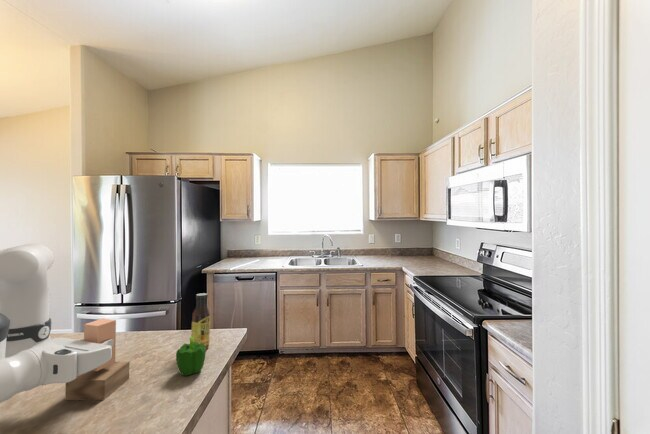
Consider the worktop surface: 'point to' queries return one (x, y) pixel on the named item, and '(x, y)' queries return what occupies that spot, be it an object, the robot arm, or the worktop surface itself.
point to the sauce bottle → (201, 321)
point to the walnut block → (97, 382)
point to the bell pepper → (190, 357)
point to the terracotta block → (101, 335)
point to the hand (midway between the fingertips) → (103, 340)
